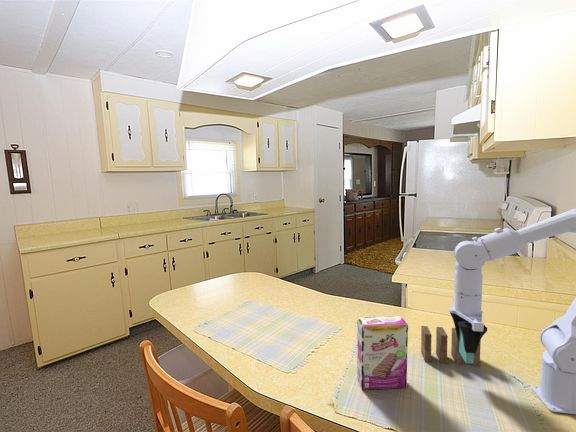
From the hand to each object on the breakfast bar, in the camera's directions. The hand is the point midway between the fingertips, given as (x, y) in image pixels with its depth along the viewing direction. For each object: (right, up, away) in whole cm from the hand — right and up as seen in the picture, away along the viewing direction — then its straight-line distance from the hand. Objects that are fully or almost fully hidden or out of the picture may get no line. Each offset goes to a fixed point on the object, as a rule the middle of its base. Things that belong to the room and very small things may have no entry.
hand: (466, 346), depth 76 cm
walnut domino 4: (+7, -8, +10) cm, 15 cm away
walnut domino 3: (+3, -8, +11) cm, 14 cm away
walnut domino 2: (-1, -8, +11) cm, 14 cm away
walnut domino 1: (-4, -8, +12) cm, 15 cm away
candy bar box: (-20, -10, +1) cm, 22 cm away
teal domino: (0, -3, 0) cm, 3 cm away
